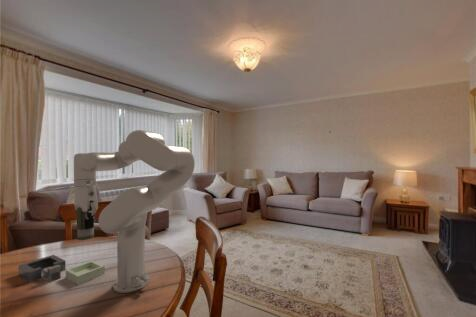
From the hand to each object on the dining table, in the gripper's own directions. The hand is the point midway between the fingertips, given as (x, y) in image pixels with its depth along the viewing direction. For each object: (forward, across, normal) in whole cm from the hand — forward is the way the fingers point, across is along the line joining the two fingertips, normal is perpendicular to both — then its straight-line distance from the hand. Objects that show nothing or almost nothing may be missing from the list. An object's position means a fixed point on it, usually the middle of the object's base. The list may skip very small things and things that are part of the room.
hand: (85, 227), depth 94 cm
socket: (+20, +19, +8) cm, 29 cm away
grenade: (+5, 0, 0) cm, 5 cm away
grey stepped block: (+20, +11, +8) cm, 24 cm away
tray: (+20, 0, 0) cm, 20 cm away
